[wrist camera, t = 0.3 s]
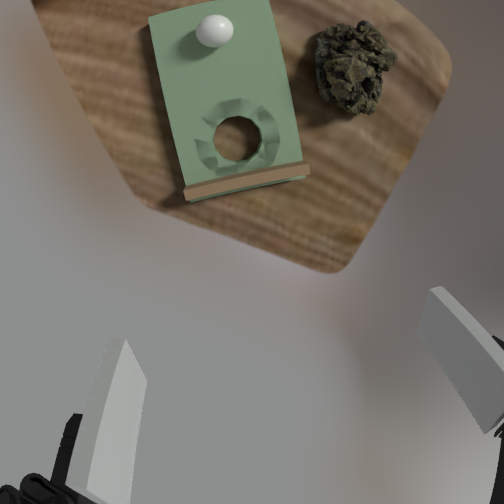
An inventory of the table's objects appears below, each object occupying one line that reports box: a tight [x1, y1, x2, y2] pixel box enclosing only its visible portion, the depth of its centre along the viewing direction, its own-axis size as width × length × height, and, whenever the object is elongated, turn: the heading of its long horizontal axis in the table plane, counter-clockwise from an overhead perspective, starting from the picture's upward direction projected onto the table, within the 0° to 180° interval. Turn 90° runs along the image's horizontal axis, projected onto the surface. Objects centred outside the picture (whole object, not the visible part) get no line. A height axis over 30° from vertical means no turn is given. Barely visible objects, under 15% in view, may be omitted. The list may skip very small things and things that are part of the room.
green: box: [148, 0, 310, 203], centre depth 28 cm, size 24×14×4 cm, turn 11°
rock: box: [314, 21, 398, 116], centre depth 28 cm, size 13×10×10 cm
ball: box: [196, 15, 234, 47], centre depth 24 cm, size 4×4×4 cm
